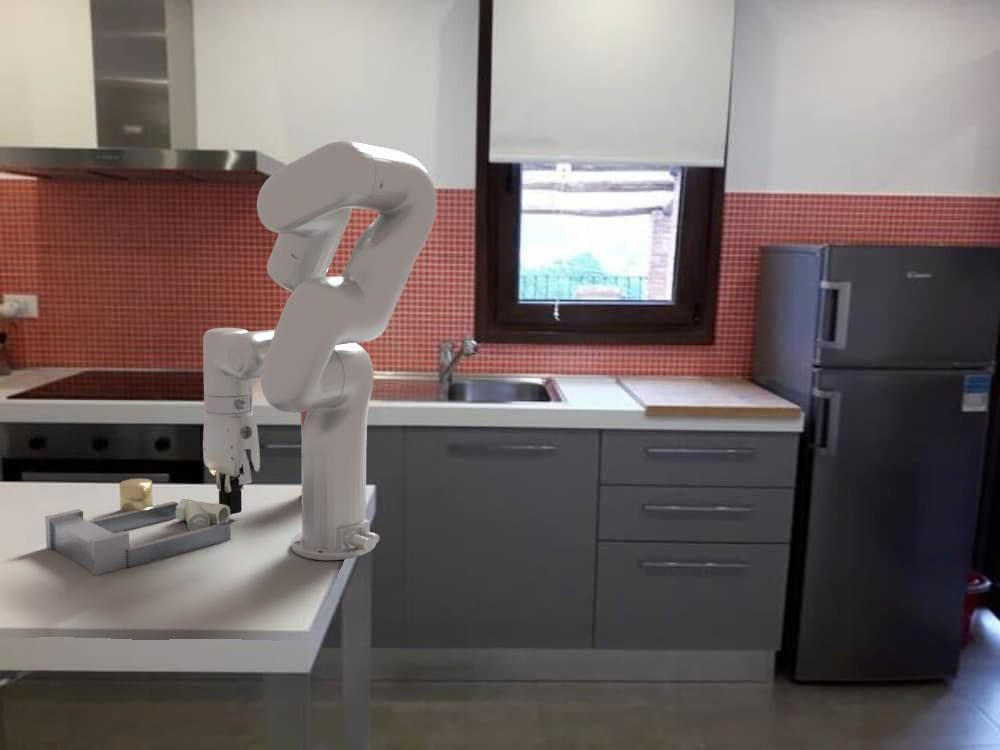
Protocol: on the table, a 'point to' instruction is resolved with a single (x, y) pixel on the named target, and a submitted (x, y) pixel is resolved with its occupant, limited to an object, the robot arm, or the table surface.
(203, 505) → the pipe fitting
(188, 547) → the pipe jig
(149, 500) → the cylinder
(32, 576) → the table surface
